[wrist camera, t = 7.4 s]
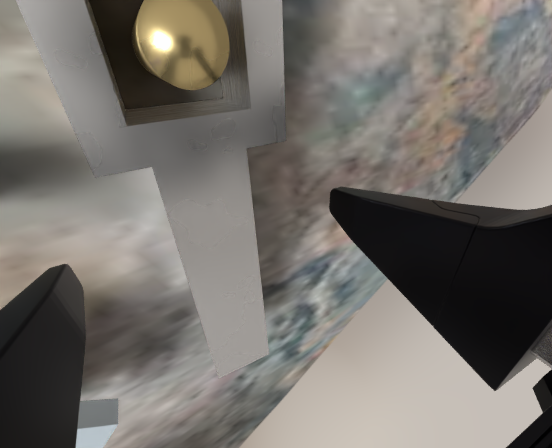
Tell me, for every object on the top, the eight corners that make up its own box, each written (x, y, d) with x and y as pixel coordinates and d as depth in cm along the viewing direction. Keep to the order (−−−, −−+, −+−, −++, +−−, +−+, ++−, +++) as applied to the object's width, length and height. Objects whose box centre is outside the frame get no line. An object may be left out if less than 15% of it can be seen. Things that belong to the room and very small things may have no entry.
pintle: (199, 77, 10) (234, 86, 7) (142, 82, 9) (153, 94, 6) (187, 9, 9) (222, -17, 6) (122, 9, 8) (123, -20, 5)
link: (1, -96, 6) (-66, -181, 4) (236, -71, 9) (278, -118, 6) (181, 345, 16) (190, 392, 14) (270, 307, 18) (291, 342, 16)
